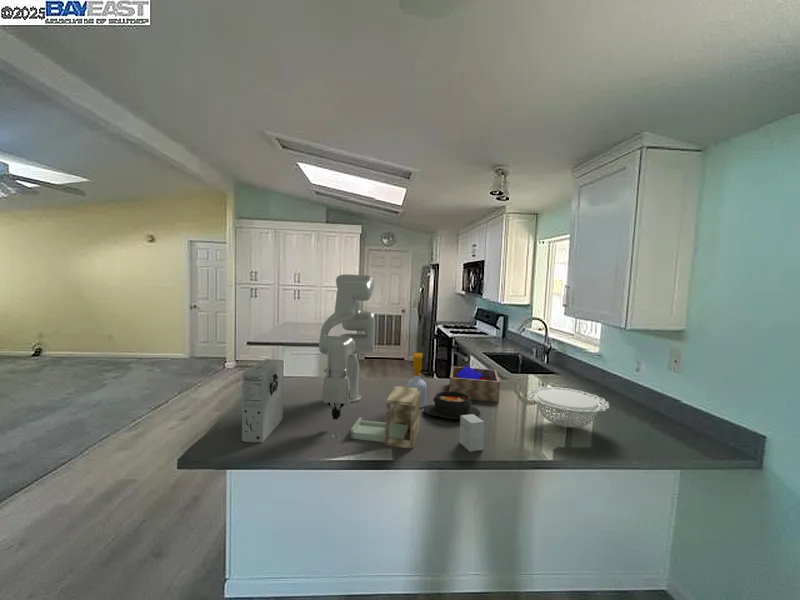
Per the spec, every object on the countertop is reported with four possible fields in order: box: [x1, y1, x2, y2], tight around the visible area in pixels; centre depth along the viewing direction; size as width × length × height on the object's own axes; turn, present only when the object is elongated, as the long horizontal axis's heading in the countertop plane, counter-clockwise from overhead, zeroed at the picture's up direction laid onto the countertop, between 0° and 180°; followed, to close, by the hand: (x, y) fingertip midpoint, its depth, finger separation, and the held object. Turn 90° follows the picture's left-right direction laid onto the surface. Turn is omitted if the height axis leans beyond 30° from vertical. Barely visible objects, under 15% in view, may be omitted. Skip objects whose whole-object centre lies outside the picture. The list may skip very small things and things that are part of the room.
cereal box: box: [241, 358, 284, 444], centre depth 148 cm, size 22×8×25 cm, turn 178°
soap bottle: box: [406, 352, 427, 409], centre depth 183 cm, size 9×9×25 cm
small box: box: [458, 414, 485, 452], centre depth 142 cm, size 8×6×10 cm
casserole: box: [423, 391, 481, 420], centre depth 173 cm, size 25×19×8 cm
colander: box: [526, 386, 611, 428], centre depth 163 cm, size 32×32×13 cm
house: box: [457, 365, 487, 380], centre depth 207 cm, size 12×20×12 cm, turn 13°
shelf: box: [384, 385, 421, 449], centre depth 148 cm, size 10×17×17 cm, turn 171°
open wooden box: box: [449, 365, 501, 403], centre depth 207 cm, size 24×24×10 cm
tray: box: [350, 417, 408, 443], centre depth 149 cm, size 20×12×4 cm, turn 80°
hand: (336, 418), depth 153 cm, fingers closed
